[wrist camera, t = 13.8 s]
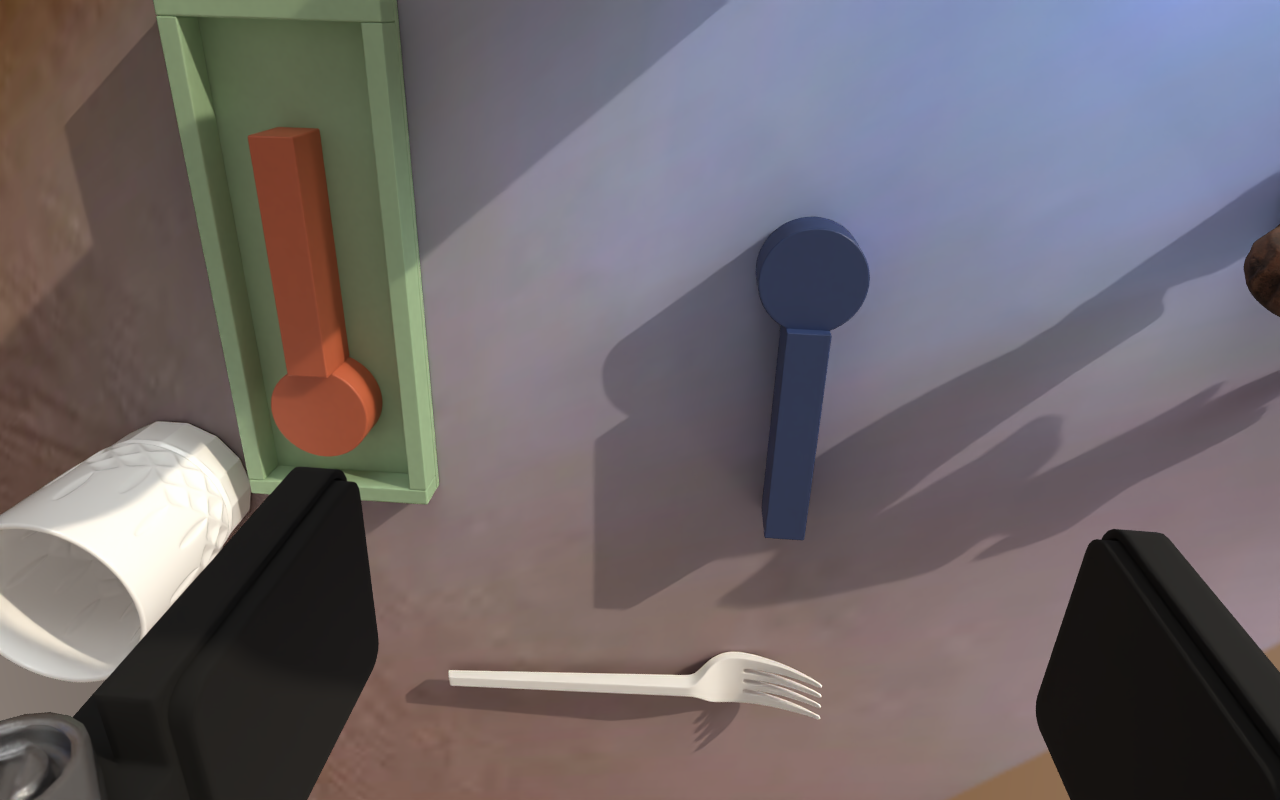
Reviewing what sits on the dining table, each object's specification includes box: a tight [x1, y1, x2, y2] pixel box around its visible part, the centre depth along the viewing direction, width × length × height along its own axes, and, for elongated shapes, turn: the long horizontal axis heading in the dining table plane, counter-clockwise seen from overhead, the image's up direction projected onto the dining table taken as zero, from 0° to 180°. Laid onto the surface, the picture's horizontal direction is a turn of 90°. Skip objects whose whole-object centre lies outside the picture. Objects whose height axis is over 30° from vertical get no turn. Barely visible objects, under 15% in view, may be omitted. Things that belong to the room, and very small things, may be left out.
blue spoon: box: [756, 217, 870, 540], centre depth 36 cm, size 14×4×2 cm, turn 178°
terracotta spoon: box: [248, 127, 382, 457], centre depth 36 cm, size 14×4×2 cm, turn 178°
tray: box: [153, 0, 439, 504], centre depth 36 cm, size 22×9×2 cm, turn 178°
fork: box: [448, 652, 822, 719], centre depth 45 cm, size 3×20×2 cm, turn 93°
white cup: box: [0, 421, 251, 682], centre depth 38 cm, size 8×8×10 cm
